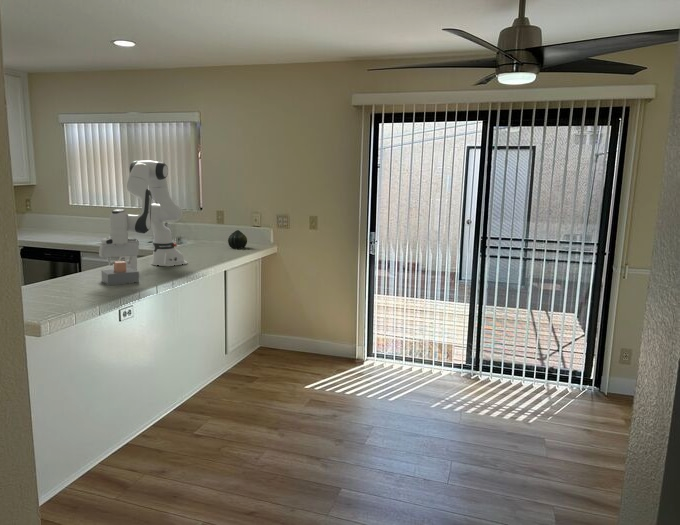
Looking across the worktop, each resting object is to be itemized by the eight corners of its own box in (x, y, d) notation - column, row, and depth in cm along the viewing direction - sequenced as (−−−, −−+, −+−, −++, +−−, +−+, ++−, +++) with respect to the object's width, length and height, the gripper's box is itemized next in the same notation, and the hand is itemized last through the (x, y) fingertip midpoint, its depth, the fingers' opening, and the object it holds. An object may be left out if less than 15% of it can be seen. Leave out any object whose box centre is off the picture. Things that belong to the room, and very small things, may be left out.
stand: (131, 278, 293) (131, 267, 292) (138, 282, 284) (138, 271, 283) (101, 281, 283) (101, 270, 282) (108, 285, 274) (107, 274, 273)
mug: (137, 271, 312) (137, 251, 309) (136, 273, 305) (136, 253, 303) (119, 271, 309) (119, 251, 307) (118, 273, 302) (117, 253, 300)
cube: (123, 269, 286) (123, 260, 285) (126, 271, 282) (126, 262, 281) (113, 270, 283) (113, 261, 282) (116, 272, 279) (116, 263, 278)
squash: (235, 243, 401) (244, 228, 408) (221, 242, 409) (230, 227, 415) (245, 254, 411) (253, 238, 418) (231, 252, 419) (239, 237, 426)
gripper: (136, 237, 288) (137, 262, 291) (97, 239, 275) (98, 265, 278) (140, 239, 283) (141, 264, 286) (100, 241, 271) (101, 267, 273)
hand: (120, 264), depth 282 cm, fingers open, 8 cm apart
